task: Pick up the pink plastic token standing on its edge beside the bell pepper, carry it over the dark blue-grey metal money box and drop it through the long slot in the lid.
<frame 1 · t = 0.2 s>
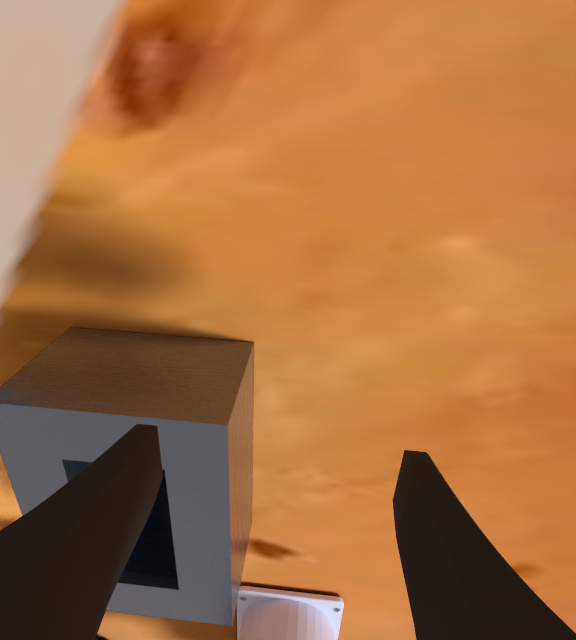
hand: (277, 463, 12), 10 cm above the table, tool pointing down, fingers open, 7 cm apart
coin box: (171, 435, 26), on the table
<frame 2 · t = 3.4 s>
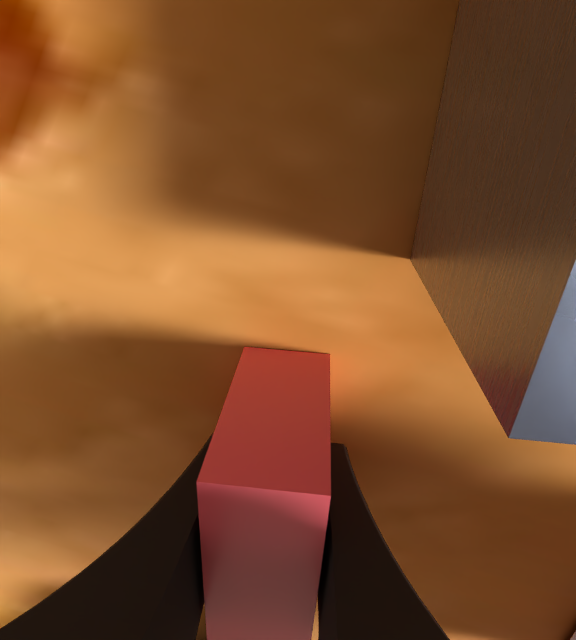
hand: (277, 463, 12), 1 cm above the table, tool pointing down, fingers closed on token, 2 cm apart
token: (282, 430, 14), on the table, touching gripper
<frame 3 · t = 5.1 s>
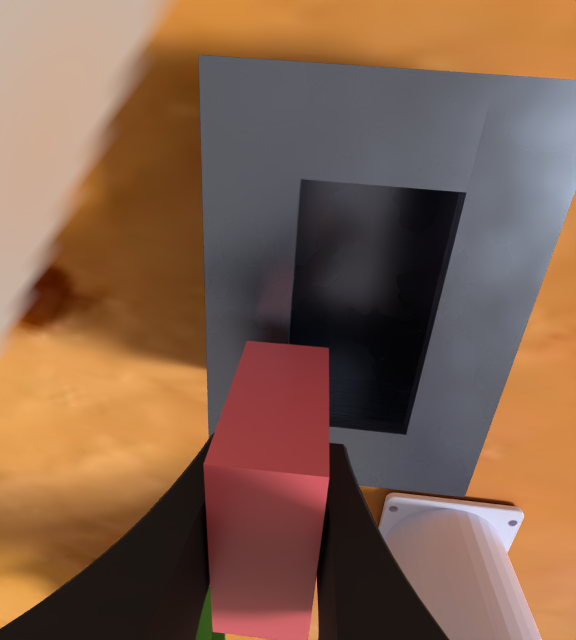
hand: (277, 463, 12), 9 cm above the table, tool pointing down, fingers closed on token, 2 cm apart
bell pepper: (185, 587, 32), on the table
coin box: (350, 259, 19), on the table
token: (283, 421, 14), point 7 cm above the table, touching gripper
when the fingers open (9 cm above the table, at t = 6.9 s): token drops 6 cm, resting on coin box.
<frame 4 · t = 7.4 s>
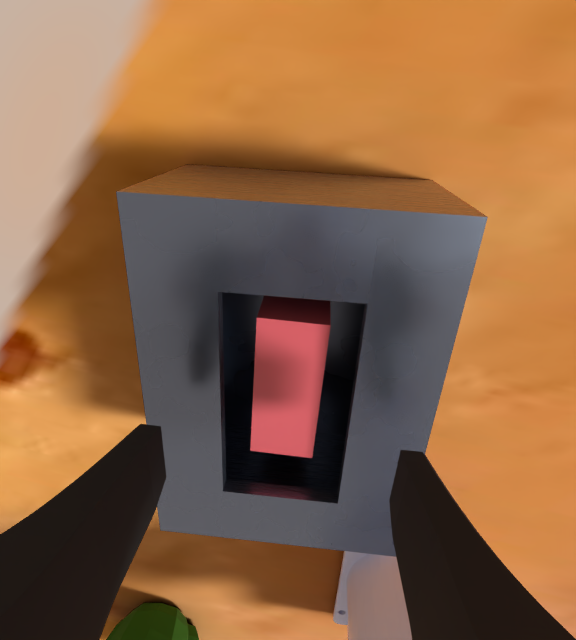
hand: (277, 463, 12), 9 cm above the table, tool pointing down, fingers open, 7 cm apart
bell pepper: (163, 617, 33), on the table
coin box: (297, 324, 20), on the table
token: (296, 330, 20), resting on coin box
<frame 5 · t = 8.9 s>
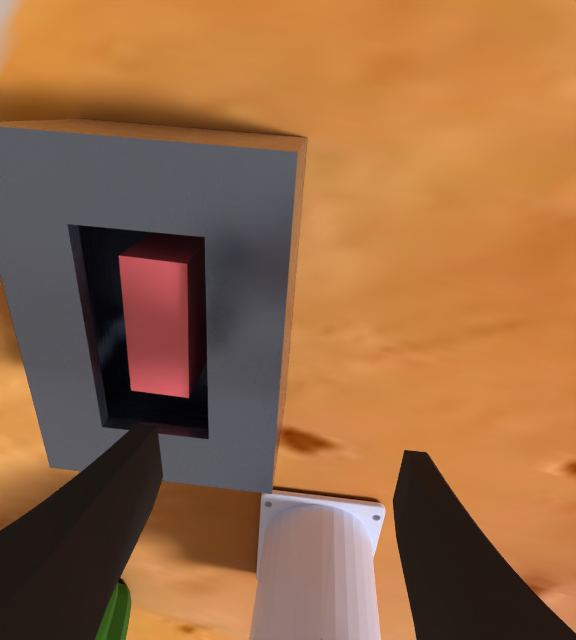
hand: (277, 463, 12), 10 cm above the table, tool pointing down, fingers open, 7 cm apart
bell pepper: (97, 577, 34), on the table
coin box: (196, 279, 21), on the table
token: (193, 284, 21), resting on coin box
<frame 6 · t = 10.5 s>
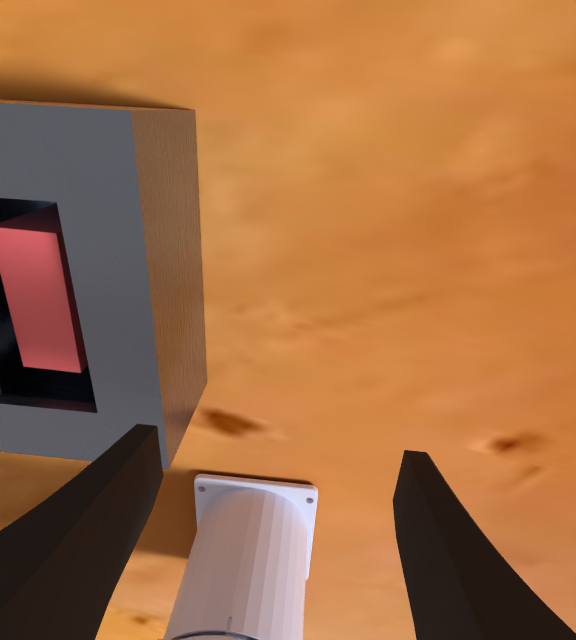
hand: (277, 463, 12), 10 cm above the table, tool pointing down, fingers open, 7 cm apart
coin box: (104, 259, 21), on the table
token: (100, 263, 21), resting on coin box
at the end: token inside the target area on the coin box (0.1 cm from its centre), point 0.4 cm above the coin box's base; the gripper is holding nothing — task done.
